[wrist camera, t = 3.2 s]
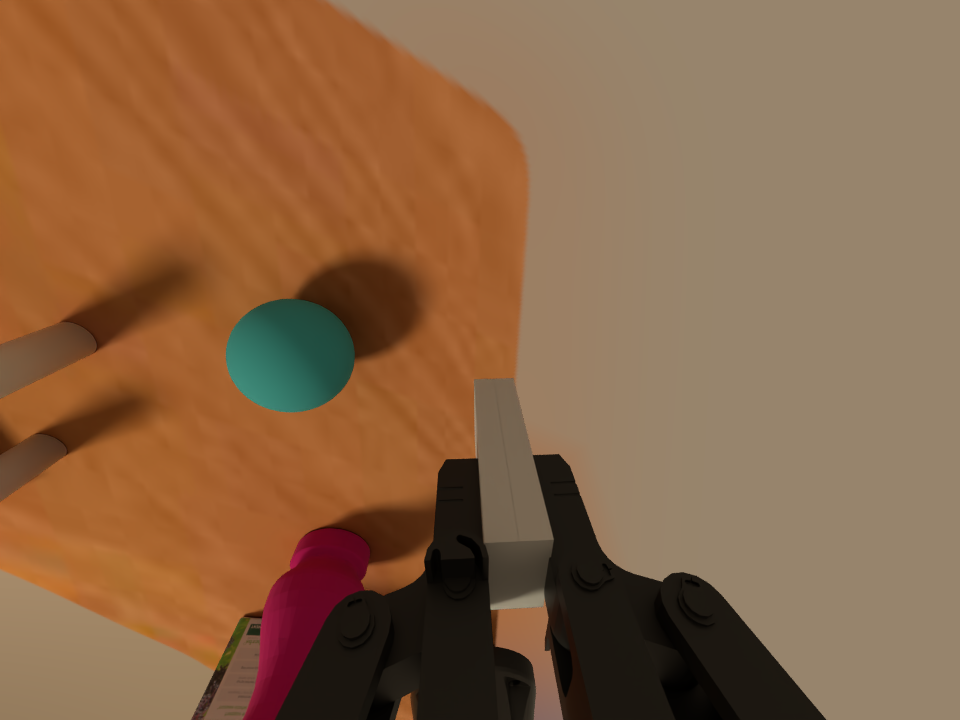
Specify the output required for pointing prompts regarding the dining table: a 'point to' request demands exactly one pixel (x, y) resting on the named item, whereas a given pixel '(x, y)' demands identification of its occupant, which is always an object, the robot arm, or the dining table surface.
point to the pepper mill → (303, 611)
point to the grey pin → (28, 461)
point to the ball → (290, 355)
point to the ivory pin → (42, 354)
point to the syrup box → (233, 675)
